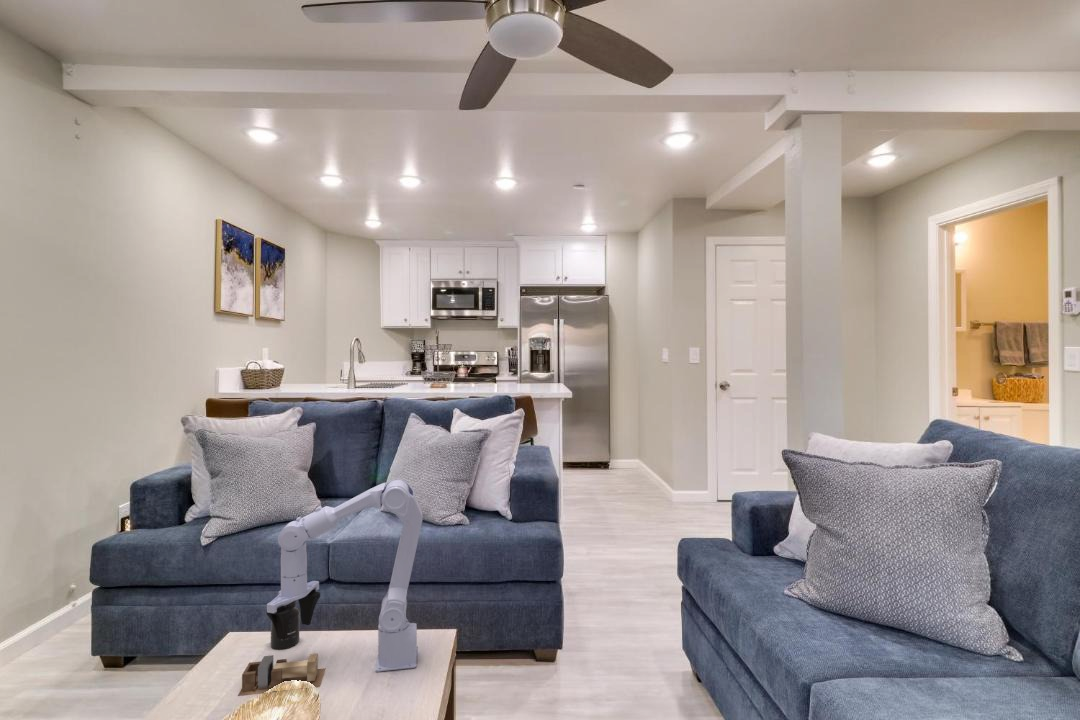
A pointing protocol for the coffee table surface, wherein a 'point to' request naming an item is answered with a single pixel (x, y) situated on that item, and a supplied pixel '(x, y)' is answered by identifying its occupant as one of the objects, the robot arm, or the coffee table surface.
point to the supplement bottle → (292, 630)
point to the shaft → (300, 668)
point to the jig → (276, 678)
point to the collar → (265, 672)
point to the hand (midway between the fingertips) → (294, 631)
